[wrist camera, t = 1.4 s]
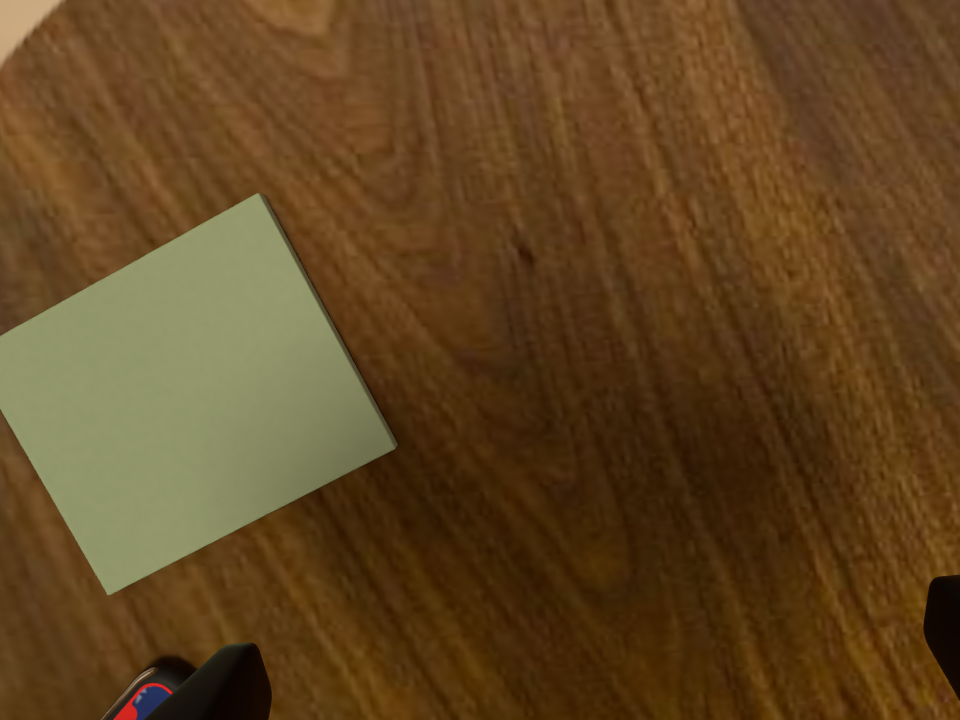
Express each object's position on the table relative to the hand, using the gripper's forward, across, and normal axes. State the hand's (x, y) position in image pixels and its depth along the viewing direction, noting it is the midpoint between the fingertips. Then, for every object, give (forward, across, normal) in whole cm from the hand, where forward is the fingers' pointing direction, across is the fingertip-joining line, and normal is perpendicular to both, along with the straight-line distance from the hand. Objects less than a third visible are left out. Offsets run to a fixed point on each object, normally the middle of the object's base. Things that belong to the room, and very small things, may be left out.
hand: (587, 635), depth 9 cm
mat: (+14, +12, +2) cm, 19 cm away
